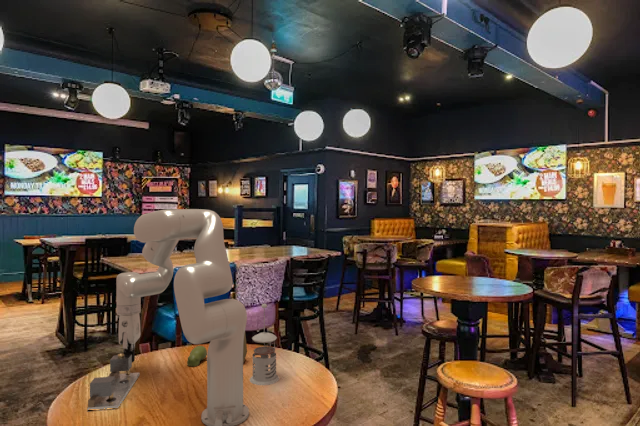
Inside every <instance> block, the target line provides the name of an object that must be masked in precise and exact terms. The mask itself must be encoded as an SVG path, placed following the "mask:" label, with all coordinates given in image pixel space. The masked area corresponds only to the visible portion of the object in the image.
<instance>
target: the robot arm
mask: <svg viewBox="0 0 640 426" xmlns="http://www.w3.org/2000/svg"><path fill="white" fill-rule="evenodd" d="M133 226H134V227H133V235H134V237H135V239H136V240H137V241H138V242H140V243H144V246H143V247H142V250H141V252H142V256H143V258H144V259H145V260H146V261H147V262H148V263H149V264H152V265H153V266H157V267H158V269H156V271H154V272H153V271H152V272H148V273H145V272H144V273H141V274H140V273H139V272H135V271H127V272H121V273H119V274H118V275H117V276H116V280H115V281H116V315H117V316H119V317H118V319H119V320H118V344H119V345H122V351H123V352H122V353H124V355H130V354H132V363H134V362H135V359H136V358H135V357H136V356H135V354H136V351H135V345H136V344H135V343H136V342H137V341H138V340H139V339H140V337H141V334H142V333H141V317H140V316H141V315H140V314H141V313H142V312H141V311H142V309H141V308H142V307H141V306H142V304H141V299H142V298H143V297H148V296H154V295H159V294H162V293H163V292H164V291H165V290H166V289H167V288H168V286H170V283H171V281H172V278H173V275H174V265H173V262H172V259H171V256H172V255H173V252H174V250H175V249H176V247H177V245H178V243H179V241H180V240H185V239H188V240H189V239H196V240H195V243H194V248H193V253H194V257H195V263H190V264H186V265H182V266H181V267H179V269H177V271H176V273H175V275H174V280H173V291H174V297H175V302H176V307H177V312H178V316H179V321H180V325H181V329H182V332H183V336H184V337H185V339H186V340H187V342H189V343H190V344H193V345H200V344H201V345H202V344H205V343H208V342H209V344H208V347H207V355H206V388H207V389H206V392H207V393H206V394H207V395H206V398H207V401H206V403H207V404H206V405H207V407H206V408H205V409H204V410H202V412H201V417H200V418H201V422H202V423H203V424H204V425H205V426H238V425H240V424H242V423H243V422H244V421H247V419H248V417H249V416H250V409H249V407H248V406H247V405H246V404H244V363H243V342H244V333H245V334H246V327H247V321H248V320H247V319H248V313H247V310H246V307H245V305H244V304H243V303H242V302H241V301H239V300H238V299H234V298H225V299H220V300H215V301H211V302H208V303H205V299H208V298H209V299H210V298H214V297H218V296H221V295H225V294H226V293H228V292H230V290H232V288H233V283H234V282H233V275H232V271H231V266H230V261H229V258H228V253H227V250H226V246H225V239H224V238H225V236H224V224H223V222H222V219H221V217H220V215H219V214H218V213H217V212H216V211H214V210H211V209H201V208H200V209H199V208H187V209H183V208H181V209H176V208H175V209H170V208H168V209H160V210H156V211H152V212H147V213H144V214H142V215H140V216H139V217H138V218H137V219H136V221H135V223H134V225H133Z"/></svg>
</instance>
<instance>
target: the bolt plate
mask: <svg viewBox="0 0 640 426" xmlns="http://www.w3.org/2000/svg"><path fill="white" fill-rule="evenodd" d="M139 377H140V372H130V375H126V372H125V373H121V371H117V372H110V373H109V374H108V376H102V377H94V378H93V379H92V381H90V382H89V399H87V408H86V409H87V410H89V409H104V408H105V409H107V408H118V407H119V406H120V407H121V405H122V404H123V402H124V400H125V399H126V398H127V395H128V394H129V392H130V391H131V389H132V388H133V386H134V384H136V382H137V380H138V378H139ZM122 401H123V402H122ZM121 403H122V404H121ZM120 404H121V405H120ZM120 407H119V408H120ZM119 408H118V409H119ZM87 410H86V411H87Z"/></svg>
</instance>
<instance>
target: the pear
mask: <svg viewBox="0 0 640 426" xmlns="http://www.w3.org/2000/svg"><path fill="white" fill-rule="evenodd" d="M207 352H208V349H206V347H205V346H204V345H197V346H195V347H194V348H193V349H191V351H190V353H189V356H187V361H186V364H187V365H186V366H187V367H194V368H195V367H198V366H199V365H200V363H201V361H203V360H205V358H207Z"/></svg>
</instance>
